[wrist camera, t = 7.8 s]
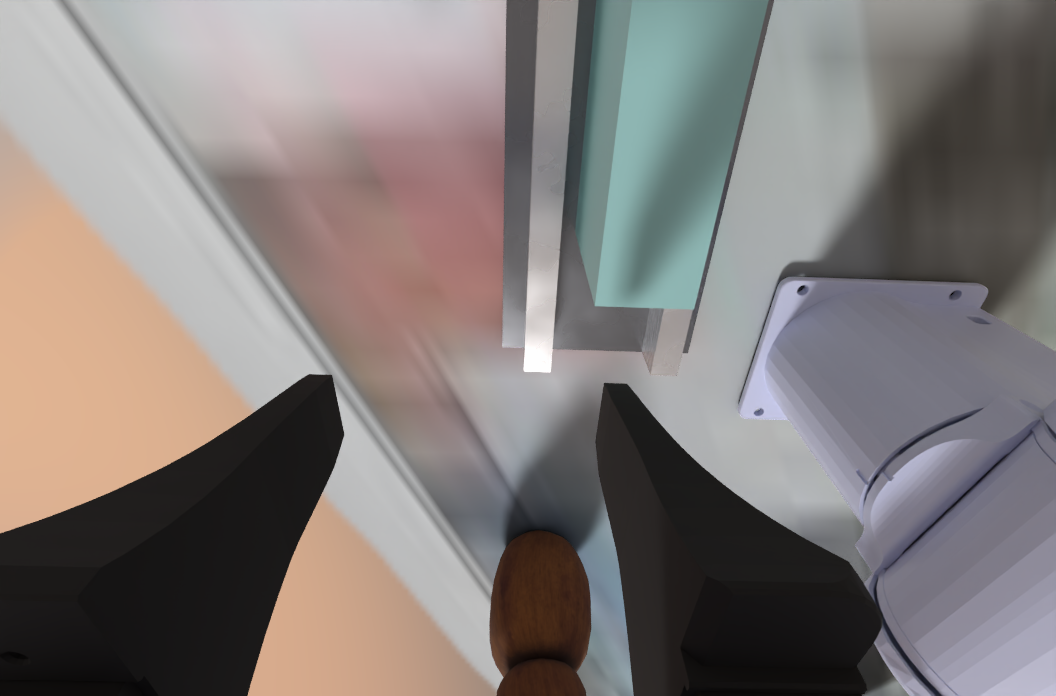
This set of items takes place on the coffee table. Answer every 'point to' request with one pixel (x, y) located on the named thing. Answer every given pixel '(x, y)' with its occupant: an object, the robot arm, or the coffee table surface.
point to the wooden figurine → (540, 617)
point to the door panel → (660, 142)
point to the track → (568, 199)
